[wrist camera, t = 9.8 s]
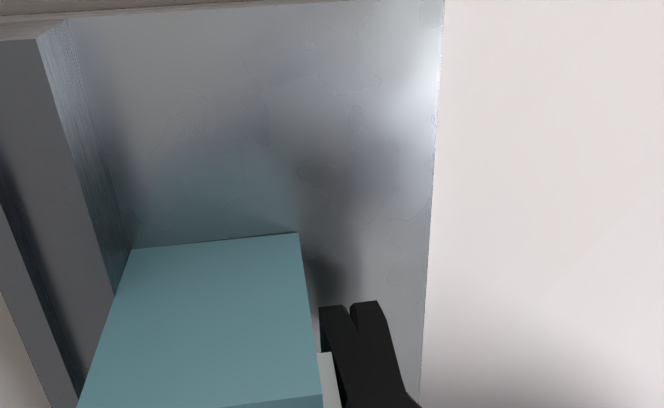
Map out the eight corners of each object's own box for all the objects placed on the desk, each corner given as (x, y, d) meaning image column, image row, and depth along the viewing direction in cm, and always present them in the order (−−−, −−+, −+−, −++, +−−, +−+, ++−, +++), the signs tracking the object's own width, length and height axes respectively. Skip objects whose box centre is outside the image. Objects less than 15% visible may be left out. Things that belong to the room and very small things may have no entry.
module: (323, 374, 16) (351, 555, 11) (169, 394, 15) (137, 590, 11) (314, 231, 13) (346, 390, 9) (131, 249, 13) (69, 427, 8)
